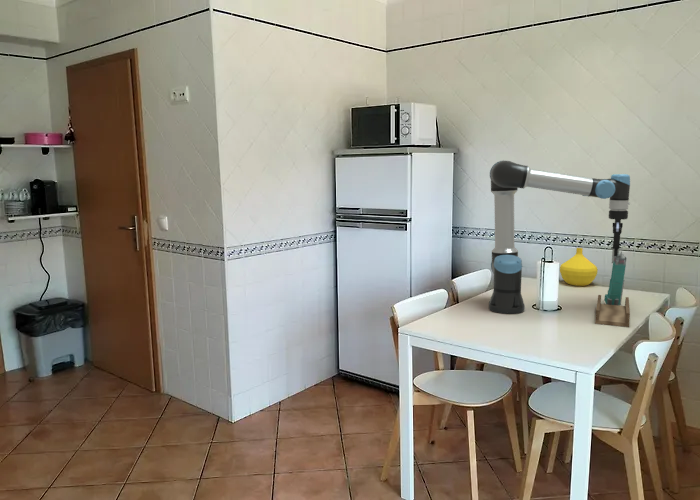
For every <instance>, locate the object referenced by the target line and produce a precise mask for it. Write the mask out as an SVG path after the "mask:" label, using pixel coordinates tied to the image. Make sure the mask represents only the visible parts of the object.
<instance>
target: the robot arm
mask: <svg viewBox="0 0 700 500" xmlns="http://www.w3.org/2000/svg"><path fill="white" fill-rule="evenodd" d="M489 178H490V193H492V194H493V195H494V196H493V197H494V247H493V249H492V250H491V262H490V270H491V272H492V273H493V288H492V291H493V292H492V295H491V297H490V299H489V303H488V310H490V311H492V312H494V313H498V314H506V315H507V314H509V315H510V314H513V315H515V314H521V313H523V312H525V311H526V310H525V308H526V307H525V302H524V299H523V296H522V272H523V271H522V269H523V260H522V258H521V257H520V256H519V250H518V249H517V248H516V247H515V194H516V193H517V192H518V191H519V189H525V188H527V187H528V188H531V189H532V188H534V189H539V190H540V189H541V190H546V191H552V192H553V191H554V192H559V193H560V192H561V193H568V194H572V195H580V196H582V197H587V198H588V197H592V198H599V199H601V200H602V199H604V200H606V199H609V203H608V205H609V206H608V209H609V211H608V219H610V220H614V222H612V233H613V241H612V247H610V249H612V252H611V253H612V255H611V264H613V261H614V257H617V255H620V249H621V248H622V246H620V245H621V244H620V242H621V234H622V232H623V231H622V230H623V222H622V220H628V216H629V211H628V210H629V205H631V202H629V201H630V199H629V198H630V189H631V176H630V174H626V173H621V174H620V173H614V174H611V176H610V178H593V177H587V176H581V175H576V174H575V175H574V174H568V173H567V174H566V173H559V172H553V171H548V170H547V171H546V170H541V169H535V168H534V169H533V168H530V167H529V166H528V165H524V164H519V163H515V162H513V161H510V160H504V159H503V160H499V161H497V162H495V163H494V164H493V165H492V167H491V168H490V170H489Z"/></svg>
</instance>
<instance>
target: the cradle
mask: <svg viewBox="0 0 700 500" xmlns="http://www.w3.org/2000/svg"><path fill="white" fill-rule="evenodd" d="M630 310H631V309H630V299H629V296H625V302H624V305H608V304H606V303H602V295H601V294H598V295H597V301H596V309H595V319H594V321H595V323H594V324H597V325H603V324H604V325H603V326H615V327H624V328H625V327H626V328H630V317H631V311H630Z"/></svg>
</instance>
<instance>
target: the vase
mask: <svg viewBox="0 0 700 500" xmlns="http://www.w3.org/2000/svg"><path fill="white" fill-rule="evenodd" d="M583 250H584V249H583V248H582V247H576V251H575V252H576V253H575V254H574V256H572V257H570V258H569V259H567V260H566V261H565V262H563V263H561V264H560V266H559V272H560V276H561V278H562V280H563V281H564V282H565V283H566V284H568V285H569V286H574V287H585V286H588V285H590V284H592V282H593V281H594V280H595V279H596V277H597V275H598V271H599V270H598V267H597V266H596V264H595V263H593V262H592V261H590V260H589V259H588V258H587V257H585V256H584V254H583Z"/></svg>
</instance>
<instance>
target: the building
mask: <svg viewBox="0 0 700 500" xmlns="http://www.w3.org/2000/svg"><path fill="white" fill-rule="evenodd" d="M623 243H624V241H622V244H621V246H623V245H624V244H623ZM620 249H621V250H620V253H619V255H617V257H614V261H613V263H612V268H611V276H610V279H609V286H608V290H607V293H605V294H604V300H603V301H604V302H605V303H604V304H608V305H619V306H622V300H623V291H624V288H625V287H624V285H625V272H626V268H627V267H626V266H627V265H626V264H627V257H626V256H625V254H624V253H623V247H621V248H620Z"/></svg>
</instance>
